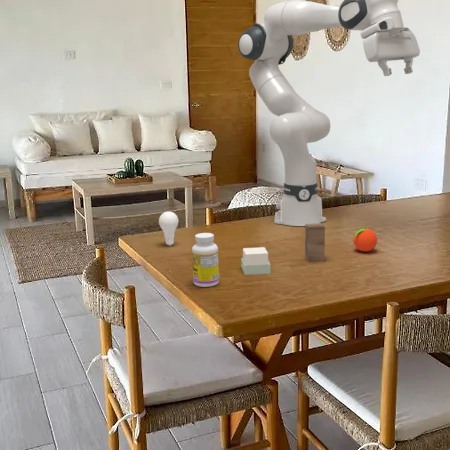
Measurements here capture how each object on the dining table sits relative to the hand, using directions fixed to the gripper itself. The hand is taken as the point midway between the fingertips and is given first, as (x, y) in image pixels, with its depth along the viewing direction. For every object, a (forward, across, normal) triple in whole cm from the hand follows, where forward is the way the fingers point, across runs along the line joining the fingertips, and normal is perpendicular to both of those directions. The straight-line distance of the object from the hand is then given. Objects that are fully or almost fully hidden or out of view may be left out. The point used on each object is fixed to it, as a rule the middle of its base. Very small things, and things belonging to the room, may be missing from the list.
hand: (398, 74), depth 173 cm
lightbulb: (+33, +57, -56) cm, 86 cm away
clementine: (+48, +17, -14) cm, 53 cm away
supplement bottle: (+44, +68, -20) cm, 84 cm away
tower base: (+45, +52, -20) cm, 72 cm away
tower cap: (+42, +52, -19) cm, 70 cm away
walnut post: (+46, +33, -17) cm, 59 cm away
